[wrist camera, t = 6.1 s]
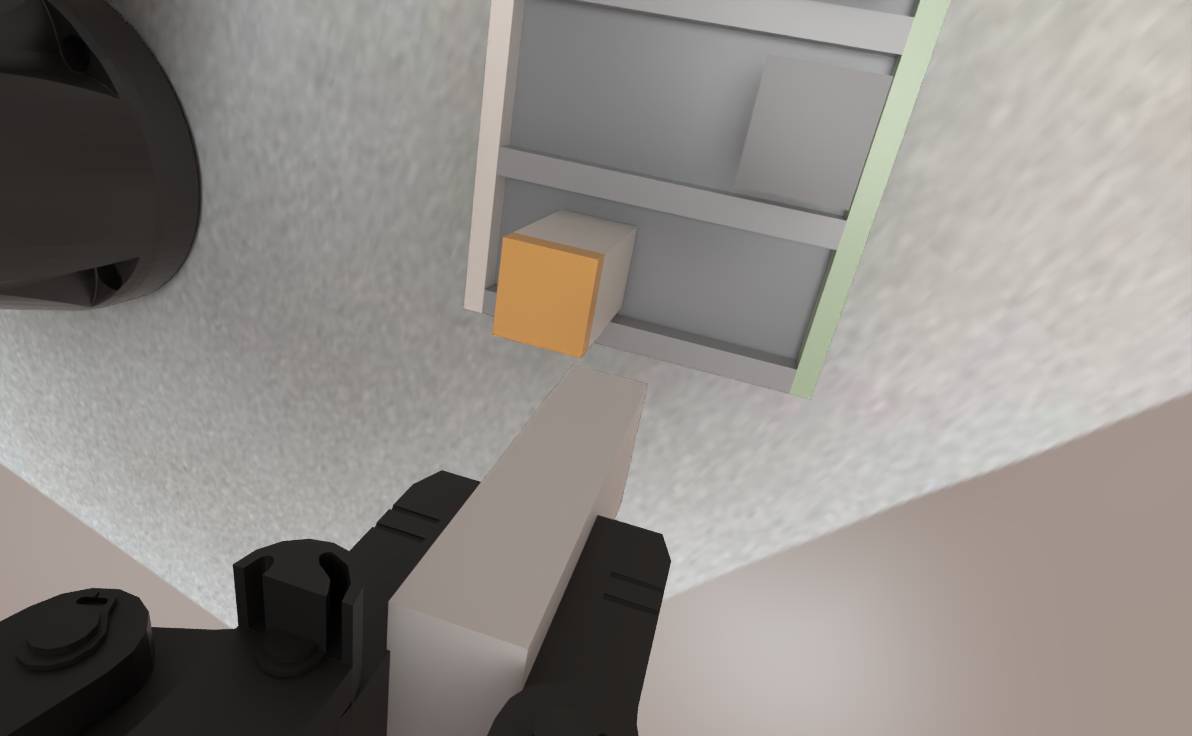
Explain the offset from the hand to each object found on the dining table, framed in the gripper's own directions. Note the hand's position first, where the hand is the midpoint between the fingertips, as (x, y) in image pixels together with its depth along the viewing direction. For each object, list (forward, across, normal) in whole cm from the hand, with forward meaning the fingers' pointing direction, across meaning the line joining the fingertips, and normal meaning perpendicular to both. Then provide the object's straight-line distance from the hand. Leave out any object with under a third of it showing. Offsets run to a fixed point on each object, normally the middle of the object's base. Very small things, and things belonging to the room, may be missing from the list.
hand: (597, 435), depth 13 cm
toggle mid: (+13, +3, +6) cm, 14 cm away
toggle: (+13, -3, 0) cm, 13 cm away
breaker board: (+14, -1, +6) cm, 15 cm away
